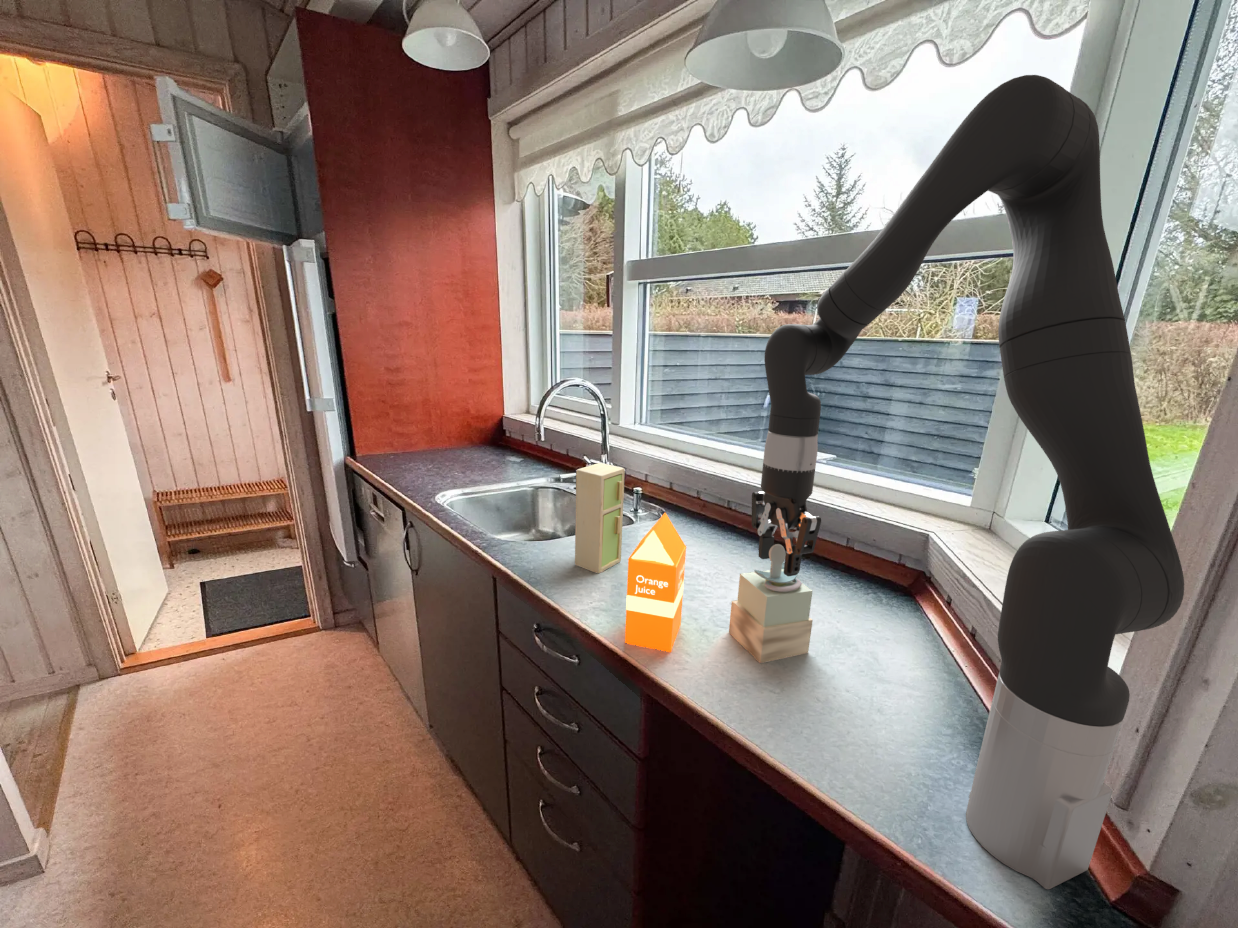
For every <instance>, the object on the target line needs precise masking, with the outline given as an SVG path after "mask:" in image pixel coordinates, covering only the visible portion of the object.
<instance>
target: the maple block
mask: <svg viewBox="0 0 1238 928" xmlns="http://www.w3.org/2000/svg"><path fill="white" fill-rule="evenodd" d="M737 600H738V599H736V600H731V604H730V605H731V606H730V618H729V624H728V625H729V626H728V627H729V628H728V633H729V634H730V635H731V636H732V637H733V638H734V639H735V640H736V641H737V642H738V643H739V645H741V646H742V647H743V648H744V650H746V651H747V652H748V653H749V654H750V655H751V656H752V657H753V658H754V659H755V660H756V661H757V662H759V664H765V663H768V662H773V661H777V660H782V659H787V658H791V657H795V656H800V655H804V654H809V651H810V650H809V648H810V643H811V635H812V628H813V619H812V618H811V617H809V620H805V621H799V622H792V623H786V624H779V625H773V626H766V627H763V626H762V625H761V624H760V623H759V622H758V621H757V620H756V619H755V618H754V617H753V616H752V615H751V614H750V613H749V612H748V611H747V610H746V609H745V608H744V607H743V606H742V605H741V604H740V603H739V602H737Z"/></svg>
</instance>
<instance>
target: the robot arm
mask: <svg viewBox="0 0 1238 928" xmlns="http://www.w3.org/2000/svg"><path fill="white" fill-rule="evenodd" d="M1097 122H1098V121H1097V118H1096V116H1095V114H1094V112H1093V111H1092V109H1091V108H1090V106H1089V105H1088V104H1087V103H1086V102H1085V101H1083V100H1082V99H1081V98H1079V97H1077V96H1075V94H1073V93H1071V92H1070V91H1068V90H1067V89H1065V88H1064V87H1063V86H1062V85H1060V84H1058V83H1057V82H1056V81H1054V80H1052V79H1050V78H1048V77H1047V76H1042V75H1038V74H1024V75H1021V76H1017V77H1014V78H1011V79H1009V80H1007V81H1006V82H1003V83H1001V84H999V85H998V86H997V87H996V88H994V89H993V90H991V91H990V92H989V93H988V94H986V95H985V96H984V97H983V98H982V99H981V100H980V101H979V102H978V103H977V105H975V106H974V107H973V109H971V111H970V112H969V113H968V114H967V116H966V117H965V118H964V119H963V120H962V121H961V123H960V124H959V125H958V127H957V128H956V129H955V131H954V132H953V133H952V135H951V136H950V137H949V139H948V140H947V142H946V143H945V144H944V145H943V146H942V148H941V150H940V151H939V152H938V153H937V155H936V157H935V158H934V159H933V160H932V162H931V164H930V165H929V166H928V168H927V169H926V170H925V171H924V173H923V174H922V175H921V177H920V178H919V179H918V181H917V182H916V183H915V185H914V186H913V188H912V189H911V190H910V191H909V193H908V194H907V196H906V197H905V198H904V200H903V201H902V202H901V204H900V205H899V207H898V208H897V209H896V210H895V212H894V214H893V215H892V216H891V218H889V221H887V223H886V224H885V226H883V227H882V229H881V230H880V232H879V233H878V234H877V235H876V237H874V239H873V240H872V241H871V242H870V244H869V245H867V247H866V248H865V249H864V251H863V252H861V254H860V255H859V256H858V257H857V258H856V259H855V260H854V261H852V263H851V264H850V265H848V267H847V268H846V269H844V271H843V272H842V273H841V274H840V275H839V276H838V277H837V278H836V279H835V280H834V281H833V283H832V284H831V285H829V287H828V288H827V289H826V290H825V291H824V292H823V293H822V295H821V296H820V298H819V300H818V301H817V304H816V306H817V307H816V312H817V313H818V314H817V315H818V317H819V318H818V320H816V321H815V322H814V323H813V324H800V323H799V324H798V323H788V324H787V323H786V324H783V325H781V326H779V327H777V328H776V329H775V330H774V331H773V332H772V333H771V335H770V336H769V337H768V339H767V342H766V346H765V349H764V367H765V375H766V382H767V388H768V395H769V399H770V412H769V421H768V428H767V430H768V431H767V436H766V440H765V444H764V452H763V461H762V470H761V481H760V489H761V491H754V492H752V493H751V527H752V529H756V530H757V535H758V536H759V539H758V542H759V543H758V557H759V558H760V559H761V560H767V559H769V560H770V558H769V550H770V548H771V547H772V546H773V545H775V536H774V534H775V532H776V530H777V529H778V528H779V529H780V536H781V537H782V538H783V539H784V542H785V548H786V551H785V553H786V556H785V560H784V563H785V564H784V574H785V575H787V576H794V575H797V574H798V575H799V573H800V571H801V563H802V556H803V555H806V554H813V553H814V551H815V548H816V547H815V546H816V543H817V541H818V540H817V539H818V535H819V532H820V528H821V525H822V517H821V516H819V515H815V516H813V515H812V514H811V513H809V512H808V508H807V500H808V499H809V498H810V496H812V494H813V492H814V491H813V489H814V481H815V475H816V474H815V473H816V466H817V460H818V459H817V457H818V450H819V449H818V448H819V447H818V434H819V428H820V421H821V410H822V402H821V399H820V397H819V396H818V395H816V394H814V393H812V392H809V391H808V389H807V384H806V383H807V382H806V381H807V380H806V376H815V375H816V376H817V375H819V374H820V375H821V374H822V373H825V372H826V371H829V370H830V369H831V368H833V367H835V366H836V365H837V364H838V363H839V362H840V361H841V359H842V358H844V356H845V355H846V353H847V352H848V351H849V349H851V347H852V345H853V344H854V343H855V341H856V339H857V338H858V336H859V335H860V333H861V332H862V330H864V329H865V328H867V326H869V325H870V324H871V323H872V322H873V321H875V320H876V319H877V318H878V317H879V316H880V315H881V314H882V313H883V312H885V311H886V310H887V309H888V308H889V307H891V305H892V304H893V303H895V302H896V301H897V300H898V298H900V297H901V296H902V295H903V294H904V292H905V291H906V290H907V289H908V287H909V285H910V284H911V283H912V282H913V280H914V278H915V276H916V275H917V273H918V271H919V269H920V267H921V265H922V263H923V262H924V260H925V257H926V256H927V254H928V252H929V250H930V248H931V247H932V246H933V244H934V243H935V241H936V240H937V238H938V236H940V234H941V233H942V232H943V230H944V229H945V228H946V227H947V226H948V225H949V224H950V223H951V222H952V221H953V220H954V219H955V218H956V217H957V216H958V215H959V214H960V213H961V212H963V210H965V209H966V208H968V207H969V206H970V205H971V204H972V203H973V202H975V201H977V199H979V198H980V197H981V196H982V195H984V194H985V193H987V192H990V193H992V194H995V195H997V196H998V198H999V199H1000V201H1001V203H1002V206H1003V208H1004V211H1005V216H1006V219H1007V222H1008V228H1009V231H1010V238H1011V242H1012V250H1013V251H1012V253H1013V258H1012V259H1013V262H1012V268H1011V269H1012V271H1011V273H1010V274H1011V275H1010V278H1009V282H1008V284H1007V288H1006V292H1005V295H1004V298H1003V302H1002V305H1001V309H1000V315H999V319H998V320H999V321H998V327H997V328H998V345H999V346H998V347H999V353H1000V360H1001V366H1002V367H1001V368H1002V375H1003V380H1004V386H1005V389H1006V393H1007V397H1008V399H1009V401H1010V403H1011V404H1010V405H1012V407H1013V409H1014V411H1015V412H1016V414H1017V416H1018V418H1019V419H1020V421H1021V422H1022V423H1023V425H1024V426H1025V427H1026V429H1027V430H1028V432H1029V433H1030V434H1031V436H1032V437H1033V438H1034V440H1035V442H1037V444H1038V445H1039V447H1040V448H1041V450H1042V451H1043V453H1044V454H1045V455H1046V457H1047V459H1048V460H1049V461H1050V463H1051V464H1052V467H1053V469H1054V470H1055V473H1056V475H1057V478H1058V480H1059V484H1060V487H1061V491H1062V495H1063V496H1062V497H1063V501H1064V507H1065V514H1066V520H1067V529H1062V530H1061V529H1060V530H1052V531H1051V530H1050V531H1045V532H1044V531H1043V532H1041V533H1038V534H1035V535H1033V536H1031V537H1029V538H1028V539H1027V540H1025V541H1024V542H1023V543H1022V544H1020V546H1019V547H1018V548H1017V550H1016V552H1015V553H1014V556H1013V558H1012V561H1011V563H1010V566H1009V569H1008V573H1007V576H1006V581H1005V585H1004V587H1005V588H1004V592H1003V599H1002V606H1001V610H1000V616H999V624H998V628H997V629H998V630H997V644H998V649H999V650H998V651H999V654H1000V658H1001V663H1000V668H999V671H998V675H997V676H998V677H997V680H996V684H995V688H994V693H993V697H992V700H991V705H990V710H989V713H988V717H987V722H986V726H985V730H984V733H983V734H984V735H983V738H982V743H981V747H980V750H979V754H978V755H979V756H978V760H977V764H976V768H975V771H974V776H973V780H972V785H971V790H970V792H969V794H968V795H969V796H968V802H967V807H966V812H965V819H966V823H967V826H968V828H969V830H970V832H971V834H972V835H973V837H974V838H975V839H976V840H977V842H978V843H979V844H980V845H981V846H982V848H984V849H985V850H986V851H987V852H988V853H989V854H991V855H992V856H993V858H995V859H997V860H998V861H1000V862H1001V863H1002V864H1004V865H1005V866H1007V867H1008V868H1010V869H1011V870H1013V871H1016V872H1018V873H1020V874H1022V875H1024V876H1026V877H1029V878H1031V879H1033V880H1035V881H1036V882H1037V883H1038V884H1039V885H1040V886H1042V887H1043V888H1044V889H1045V890H1051V889H1052V888H1055V887H1057V886H1058V885H1061V884H1062V883H1065V882H1066V881H1069V880H1071V879H1072V878H1075V877H1076V876H1078V875H1080V874H1083V873H1084V872H1087V871H1088V870H1089V866H1090V863H1091V860H1092V857H1093V854H1094V852H1095V848H1096V845H1097V843H1098V838H1099V836H1100V832H1101V829H1102V826H1103V822H1104V820H1105V817H1106V813H1107V811H1108V808H1109V804H1110V802H1111V798H1112V795H1113V789H1112V788H1111V786H1109V785H1108V784H1107V783H1104V782H1105V780H1106V776H1107V772H1108V770H1109V765H1110V763H1111V760H1112V756H1113V753H1114V749H1115V747H1116V744H1117V741H1118V737H1119V734H1120V731H1121V727H1122V725H1123V722H1124V719H1125V715H1126V713H1127V709H1128V706H1129V702H1130V696H1131V695H1130V689H1129V686H1128V684H1127V682H1126V681H1125V680H1124V678H1123V677H1121V675H1120V674H1118V672H1116V671H1115V670H1114V669H1113V668H1111V667H1110V666H1109V663H1110V662H1109V661H1110V656H1111V652H1112V648H1113V645H1114V640H1115V637H1116V635H1120V634H1126V633H1127V634H1129V633H1133V632H1134V633H1135V632H1140V631H1145V630H1150V629H1154V628H1157V627H1159V626H1162V625H1164V624H1165V623H1167V622H1169V621H1171V620H1172V618H1173V617H1174V616H1175V615H1176V614H1177V613H1178V611H1179V609H1180V608H1181V605H1182V602H1183V599H1184V597H1185V577H1184V573H1183V572H1184V571H1183V568H1182V563H1181V559H1180V556H1179V552H1178V549H1177V546H1176V543H1175V539H1174V537H1173V533H1172V530H1171V527H1170V525H1169V521H1168V519H1167V515H1166V513H1165V509H1164V507H1163V504H1162V500H1161V497H1160V495H1159V491H1158V488H1157V485H1156V481H1155V478H1154V475H1153V471H1152V467H1151V462H1150V456H1149V451H1148V446H1147V439H1146V435H1145V429H1144V424H1143V419H1142V413H1141V408H1140V404H1139V403H1140V402H1139V400H1138V394H1137V390H1136V389H1137V388H1136V384H1135V375H1134V365H1133V359H1132V351H1131V346H1130V339H1129V335H1128V330H1127V329H1128V328H1127V323H1126V319H1125V318H1126V317H1125V314H1124V309H1123V307H1122V302H1121V299H1120V298H1121V297H1120V294H1119V289H1118V282H1117V278H1116V273H1115V268H1114V264H1113V259H1112V255H1111V250H1110V248H1109V244H1108V240H1107V236H1106V231H1105V227H1104V221H1103V209H1102V196H1101V195H1102V194H1101V193H1102V192H1101V151H1100V148H1101V147H1100V131H1099V126H1098V123H1097ZM760 514H761V518H759V515H760ZM793 529H796V530H795V531H790V530H793ZM782 538H781V539H782ZM793 538H794V539H795V542H796V543H795V544H794V540H793ZM798 575H797V576H798Z"/></svg>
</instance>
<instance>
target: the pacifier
mask: <svg viewBox="0 0 1238 928" xmlns="http://www.w3.org/2000/svg"><path fill="white" fill-rule="evenodd" d="M785 556H786V550H785V548H784V546H783V545H782V544H780V543H774V545H773V546H772V547H771V548H770V550H769V560H770V562H771V563H770V569H769V570H770V572H764V571H765V570H760V569H754V571H753V572H755V573H756V574H758V575H759V576H760V577H762V578H764V579H766V582H765V586H766V587H767V588H768V589H770V590H773V591H778V592H787V591H793V590H796V589H798V588H800V586H801V585H802V583H803V582H802V581H801V580H800V579H798V578H797V577H798V575H799V573H798V574H797V575H794V576H787V575H785V574H784V571H781V570H782V569H784V564H785ZM791 581H792V582H794V583H795V584H793V585H791V586H786V587H779V586H783V585H785V584H786V583H789V582H791Z"/></svg>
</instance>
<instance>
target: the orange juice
mask: <svg viewBox="0 0 1238 928" xmlns="http://www.w3.org/2000/svg"><path fill="white" fill-rule="evenodd" d="M686 553H687V545H686V544H685V541H683V539H682V537H681V536H680V534H679V533H678V531H677V529H676V528H675V526H674V524H673V523H672V521H671V520H670V518H669V516H668V514H667V513H666V512H664V513H663V514H662V515H661V517H660V518H659V519H658V520H657V521H656V522H655V524H654V525H653V526H652V527H651V528H650V529H649V530H648V532H647V533H646V534H645V535H644V536H643V537H642V539H641V540H640V541H639V543H638V544H637V546H636V547H635V549H634V550H633V552H632V553H631V554H630V555H629V557H628V559H627V586H626V597H625V598H626V599H625V600H626V601H625V603H626V605H625V631H624V632H625V633H624V644H625V643H627V645H630V646H631V645H632V646H635V645H636V646H637V647H642V648H645V647H646V648H647V649H651V650H655V649H657V650H656V651H660V650H661V651H660V652H665V651H666V652H667V653H672V650H673V647H674V645H675V642H676V639H677V635H678V633H679V631H680V627H681V623H682V611H683V610H682V609H683V596H684V583H685V567H686V557H687V556H686V555H687V554H686ZM646 648H645V649H646Z"/></svg>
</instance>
